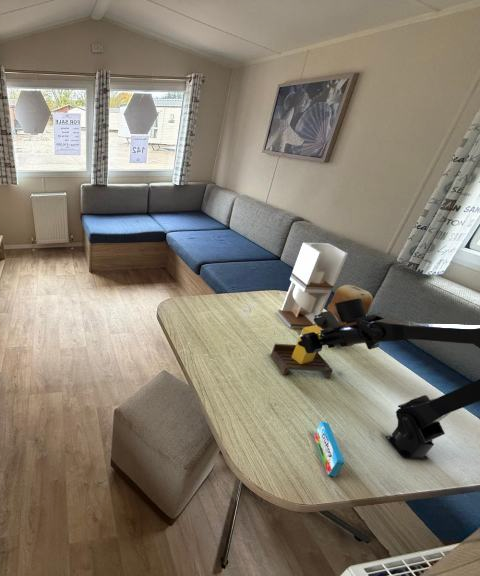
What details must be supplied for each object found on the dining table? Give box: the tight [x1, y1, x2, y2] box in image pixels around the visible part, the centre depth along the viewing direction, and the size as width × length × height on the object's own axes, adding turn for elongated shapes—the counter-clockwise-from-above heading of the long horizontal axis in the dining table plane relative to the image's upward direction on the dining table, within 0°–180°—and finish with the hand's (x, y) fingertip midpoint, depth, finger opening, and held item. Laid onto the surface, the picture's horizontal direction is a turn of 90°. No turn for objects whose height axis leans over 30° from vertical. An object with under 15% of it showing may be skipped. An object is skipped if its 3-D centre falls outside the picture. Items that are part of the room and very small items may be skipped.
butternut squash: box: [318, 284, 373, 348], centre depth 119 cm, size 14×13×25 cm
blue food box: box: [313, 420, 345, 478], centre depth 80 cm, size 12×2×6 cm, turn 163°
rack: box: [270, 343, 334, 379], centre depth 111 cm, size 10×16×6 cm, turn 86°
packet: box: [292, 325, 323, 364], centre depth 107 cm, size 4×6×13 cm
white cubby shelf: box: [277, 241, 349, 329], centre depth 130 cm, size 11×11×35 cm
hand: (304, 342), depth 108 cm, fingers closed on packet, 5 cm apart
